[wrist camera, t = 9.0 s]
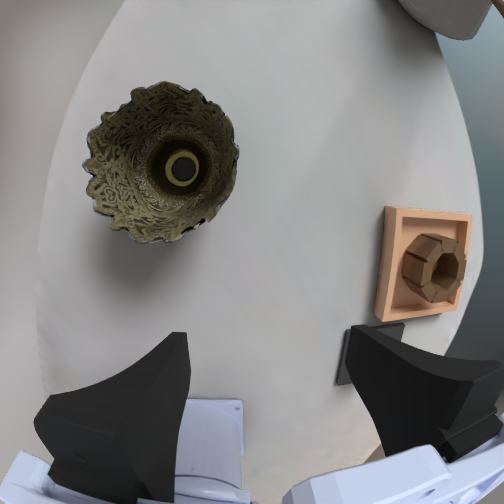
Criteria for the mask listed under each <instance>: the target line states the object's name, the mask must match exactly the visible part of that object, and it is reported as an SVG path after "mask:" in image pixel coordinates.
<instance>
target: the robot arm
mask: <svg viewBox="0 0 504 504" xmlns="http://www.w3.org/2000/svg"><path fill="white" fill-rule="evenodd" d="M345 365H346V368H347V371H348V374H349V376H350V379H351V381H352V383H353V385H354V386H355V388H356V390H357V392H358V394H359V395H360V397H361V399H362V401H363V402H364V404H365V406H366V408H367V410H368V411H369V413H370V415H371V417H372V419H373V421H374V424H375V427H376V429H377V432H378V434H379V437H380V440H381V443H382V446H383V449H384V453H385V456H386V457H385V458H382V459H379V460H375V461H372V462H368V463H364V464H361V465H357V466H353V467H348V468H344V469H340V470H335V471H330V472H327V473H324V474H320V475H317V476H313V477H310V478H308V479H306V480H304V481H302V482H300V483H298V484H296V485H294V486H293V487H292V488H291V489H290V490H289V491H288V492H287V494H286V495H285V496H284V497H283V499H282V504H475V503H476V502H478V501H479V500H480V499H482V498H483V497H484V496H485V495H487V494H488V493H489V492H490V491H492V490H493V489H494V488H496V487H497V486H498V485H499V484H500V483H502V482H503V481H504V413H503V414H502V415H501V416H500V417H499V418H497V416H496V415H495V414H496V413H497V408H496V407H495V406H494V404H495V402H496V400H497V399H498V397H499V395H500V393H501V391H502V389H503V387H504V365H502V364H501V363H500V362H498V361H497V360H485V361H484V360H481V361H480V360H478V361H477V360H464V359H456V358H450V357H445V356H441V355H437V354H433V353H430V352H427V351H423V350H420V349H418V348H415V347H413V346H410V345H408V344H405V343H403V342H401V341H399V340H397V339H394V338H392V337H390V336H388V335H386V334H384V333H382V332H380V331H378V330H376V329H374V328H371V327H369V326H366V325H354V326H351V331H350V337H349V342H348V348H347V353H346V358H345ZM190 376H191V366H190V359H189V351H188V342H187V333H186V332H172V333H171V334H169V335H168V336H167V337H166V338H165V339H164V340H163V341H162V342H161V343H160V344H158V345H157V346H156V347H155V348H154V349H153V350H151V351H150V352H149V353H148V354H147V355H145V356H144V357H143V358H141V359H140V360H139V361H137V362H136V363H135V364H133V365H132V366H130V367H129V368H127V369H125V370H124V371H122V372H120V373H118V374H116V375H115V376H112V377H110V378H108V379H106V380H104V381H101V382H99V383H97V384H94V385H91V386H88V387H85V388H82V389H79V390H75V391H71V392H66V393H60V394H55V395H50V396H49V398H48V399H47V401H46V402H45V403H44V405H43V406H42V408H41V409H40V411H39V412H38V414H37V415H36V417H35V418H34V427H35V430H36V432H37V434H38V436H39V438H40V439H41V441H42V442H43V443H44V445H45V446H46V448H47V449H48V451H49V452H50V453H51V455H52V456H53V457H54V462H53V463H52V466H51V465H50V464H49V463H48V462H46V461H45V460H43V459H41V458H38V457H36V456H34V455H32V454H30V453H27V452H25V451H23V450H20V452H19V453H18V455H17V457H16V458H15V460H14V462H13V463H12V465H11V467H10V469H9V471H8V472H7V474H6V476H5V478H4V480H3V481H2V484H1V485H0V500H1V501H2V502H3V503H5V504H259V503H258V502H255V501H250V492H249V491H244V490H242V473H241V456H242V455H243V454H244V443H243V403H242V401H241V400H203V399H187V396H188V392H189V386H190ZM236 407H239V408H236Z"/></svg>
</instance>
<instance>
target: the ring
mask: <svg viewBox="0 0 504 504" xmlns="http://www.w3.org/2000/svg"><path fill="white" fill-rule="evenodd" d="M406 251H407V253H404V256H403V265H402V272H401V274H402V275H404V276H403V277H402V278H403V280H404V281H405V282H406V284H407V285H408V287H409V288H410V289H411V290H412V291H413V292H415V293H416V294H418V295H419V296H421V297H422V298H424V299H425V300H427V301H428V302H429V303H432V304H434V303H440V302H446V301H447V298H448V299H450V298H451V297H452V296H453V294H454V293H455V292H456V291H457V289H458V288H459V287H460V285H461V282H460V281H463V279H464V273H465V267H466V261H467V260H465V258H466V255H465V253H464V251H463V249H462V247H461V244H460V242H458V241H457V240H455V239H452V238H449V237H445V236H442V235H439V234H436V233H421V235H417V237H416V238H415V239H414V240H413V241H412V243H411V244H410V245H409V246H408V247H407V248H406ZM437 260H438V261H437ZM436 261H437V268H436V270H435V271H434V272H433V273H432V269H433V265H434V264H435V262H436Z"/></svg>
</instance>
